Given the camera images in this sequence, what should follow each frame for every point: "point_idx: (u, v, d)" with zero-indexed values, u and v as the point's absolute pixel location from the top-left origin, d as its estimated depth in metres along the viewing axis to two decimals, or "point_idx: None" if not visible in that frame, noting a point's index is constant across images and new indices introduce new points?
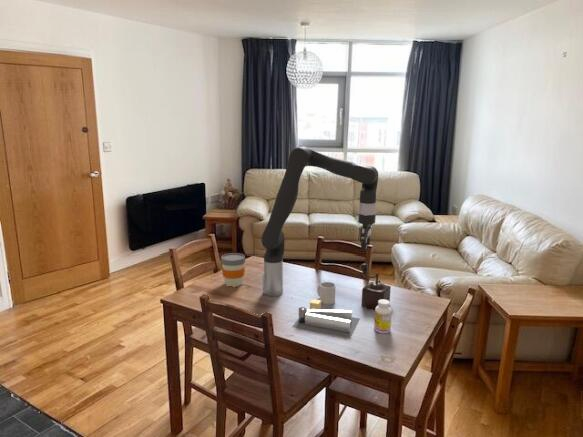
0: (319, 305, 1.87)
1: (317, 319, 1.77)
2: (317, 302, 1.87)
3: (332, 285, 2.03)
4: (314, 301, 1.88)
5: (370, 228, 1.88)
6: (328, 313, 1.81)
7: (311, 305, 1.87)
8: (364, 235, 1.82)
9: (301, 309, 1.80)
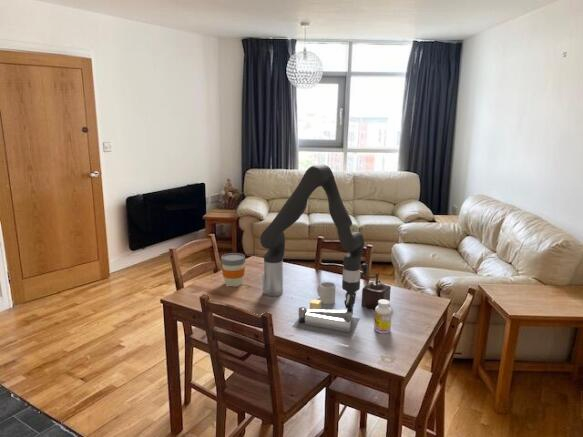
0: (319, 305, 1.87)
1: (317, 319, 1.77)
2: (317, 302, 1.87)
3: (332, 285, 2.03)
4: (314, 301, 1.88)
5: (355, 293, 1.83)
6: (328, 313, 1.81)
7: (311, 305, 1.87)
8: (349, 306, 1.79)
9: (301, 309, 1.80)
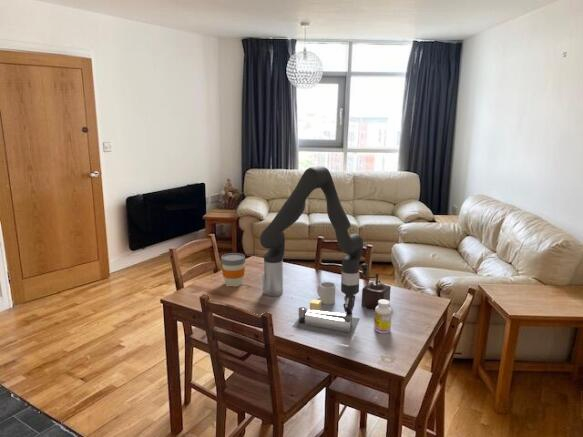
0: (319, 305, 1.87)
1: (317, 319, 1.77)
2: (317, 302, 1.87)
3: (332, 285, 2.03)
4: (314, 301, 1.88)
5: (354, 296, 1.80)
6: (328, 315, 1.79)
7: (311, 305, 1.87)
8: (348, 309, 1.76)
9: (301, 309, 1.80)
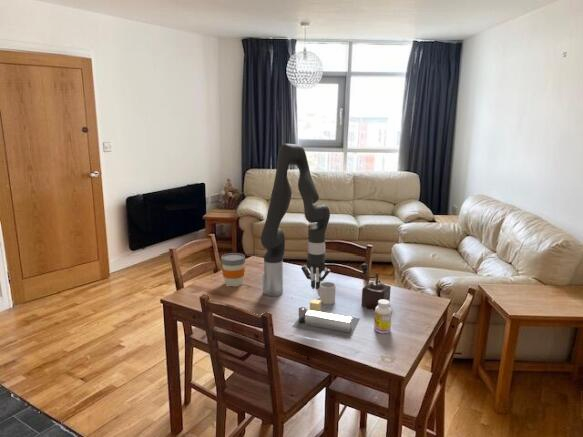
0: (319, 305, 1.87)
1: (317, 319, 1.77)
2: (317, 302, 1.87)
3: (332, 285, 2.03)
4: (314, 301, 1.88)
5: (316, 267, 1.82)
6: None
7: (311, 305, 1.87)
8: None
9: (301, 309, 1.80)
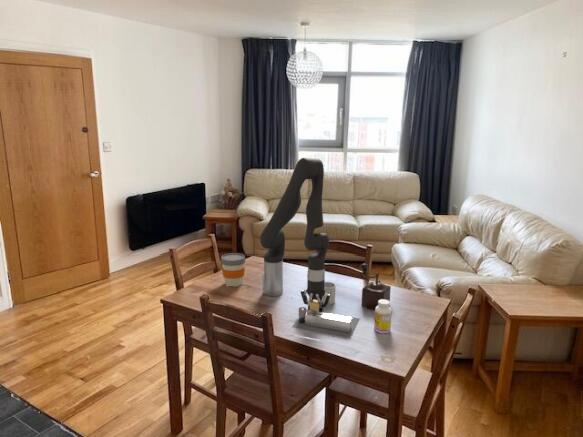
0: None
1: (317, 319, 1.77)
2: (317, 302, 1.87)
3: (332, 285, 2.03)
4: (314, 301, 1.88)
5: (316, 294, 1.85)
6: None
7: (311, 305, 1.87)
8: None
9: (301, 309, 1.80)
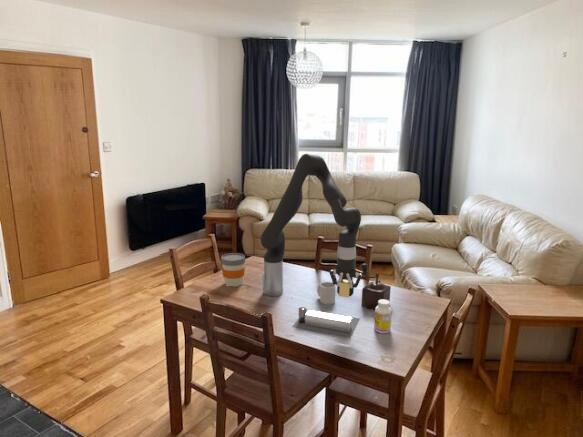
0: (349, 285, 1.76)
1: (317, 319, 1.77)
2: (347, 282, 1.76)
3: (332, 285, 2.03)
4: (344, 281, 1.77)
5: (346, 273, 1.74)
6: None
7: (341, 285, 1.76)
8: None
9: (301, 309, 1.80)
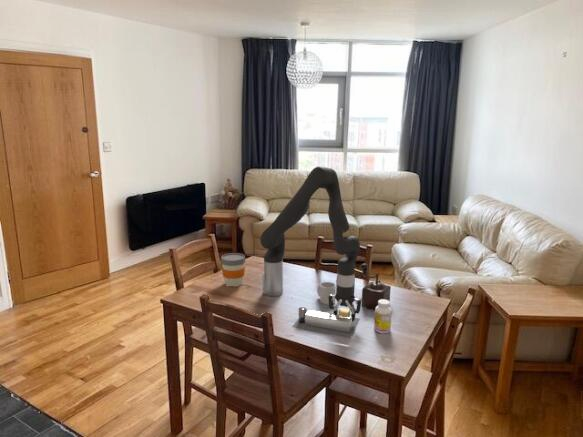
0: (348, 314, 1.79)
1: (317, 319, 1.77)
2: (346, 311, 1.79)
3: (332, 285, 2.03)
4: (343, 310, 1.80)
5: (345, 301, 1.77)
6: None
7: (340, 314, 1.79)
8: None
9: (301, 309, 1.80)
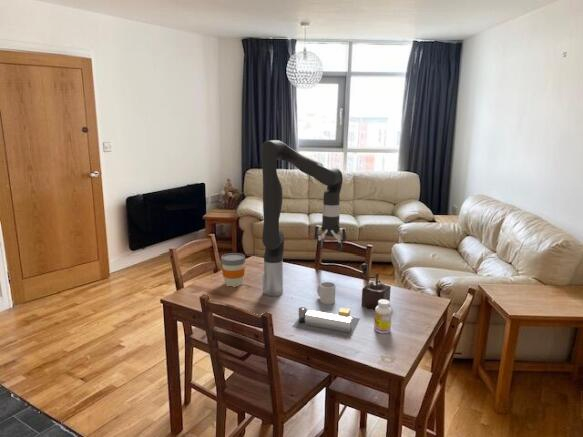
0: (348, 314, 1.79)
1: (317, 319, 1.77)
2: (346, 311, 1.79)
3: (332, 285, 2.03)
4: (343, 310, 1.80)
5: (330, 231, 1.87)
6: None
7: (340, 314, 1.79)
8: None
9: (301, 309, 1.80)
